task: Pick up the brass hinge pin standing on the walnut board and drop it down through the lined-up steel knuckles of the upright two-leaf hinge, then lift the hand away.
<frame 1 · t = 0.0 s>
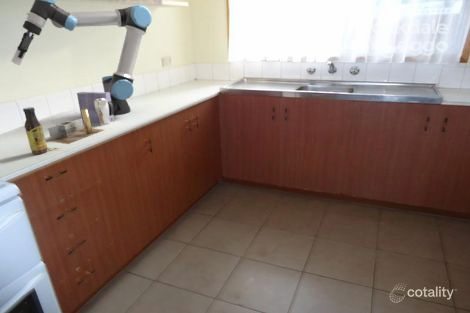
hand: (15, 63, 157), 36 cm above the table, tool tilted 35°, fingers open, 13 cm apart
beer glass: (106, 126, 177), on the table
swing leaf: (61, 130, 156), point 5 cm above the table, hinge at 0.0°, touching fixed leaf
fixed leaf: (69, 137, 161), resting on walnut board
walnut board: (76, 137, 160), on the table
sauce bottle: (40, 152, 143), on the table
hinge pin: (89, 133, 160), point 1 cm above the table, touching walnut board
cake pan box: (99, 123, 184), on the table
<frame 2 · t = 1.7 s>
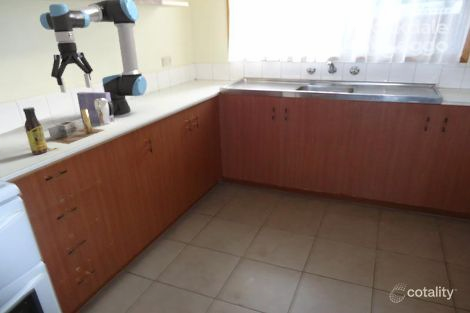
hand: (76, 89, 152), 23 cm above the table, tool pointing down, fingers open, 13 cm apart
nothing on the table moved.
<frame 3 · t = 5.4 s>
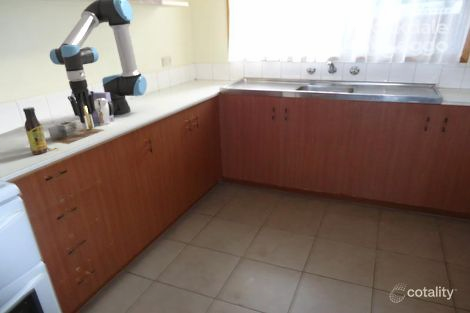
hand: (88, 127, 160), 4 cm above the table, tool pointing down, fingers closed on hinge pin, 3 cm apart
hinge pin: (89, 130, 160), point 3 cm above the table, touching gripper
everything else where it was.
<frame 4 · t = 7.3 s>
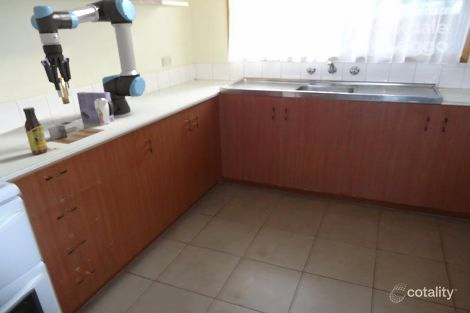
hand: (64, 96, 153), 21 cm above the table, tool pointing down, fingers closed on hinge pin, 3 cm apart
hinge pin: (66, 103, 154), point 17 cm above the table, touching gripper
everything else where it was.
when the fingers open (10 cm above the table, at t = 10.0 s): hinge pin drops 4 cm, resting on walnut board.
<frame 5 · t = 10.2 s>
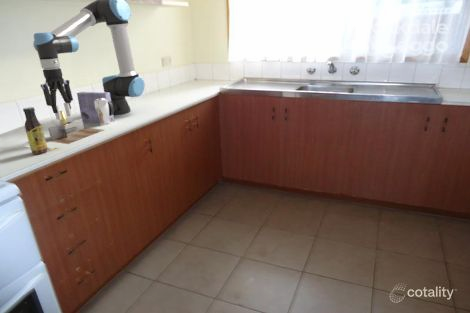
hand: (64, 117, 157), 10 cm above the table, tool pointing down, fingers open, 5 cm apart
hinge pin: (68, 134, 160), point 2 cm above the table, touching gripper, walnut board
everything else where it was.
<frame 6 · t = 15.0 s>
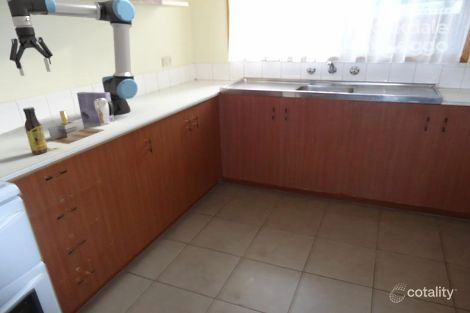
hand: (36, 73, 158), 31 cm above the table, tool pointing down, fingers open, 13 cm apart
hinge pin: (68, 135, 160), point 2 cm above the table, touching walnut board
everything else where it was.
at the end: hinge pin 0.2 cm off-centre on the fixed leaf, point 1.5 cm above the fixed leaf's base; hinge pin tilted 2°; the gripper is holding nothing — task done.
